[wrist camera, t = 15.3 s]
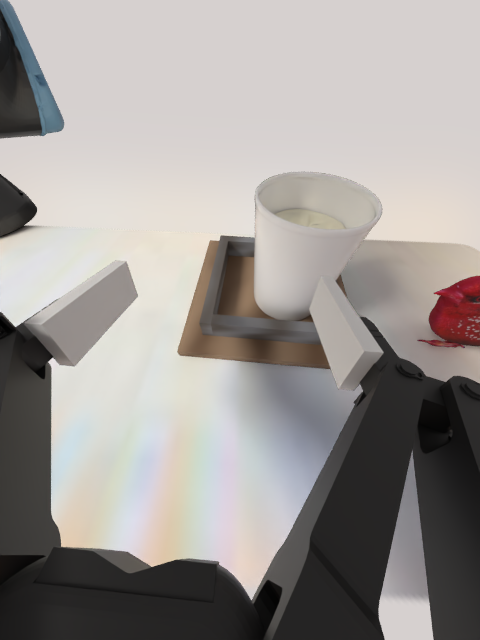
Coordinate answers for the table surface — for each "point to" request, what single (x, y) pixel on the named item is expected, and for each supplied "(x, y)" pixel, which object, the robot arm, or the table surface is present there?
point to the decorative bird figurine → (457, 314)
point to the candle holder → (306, 236)
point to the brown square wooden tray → (243, 315)
